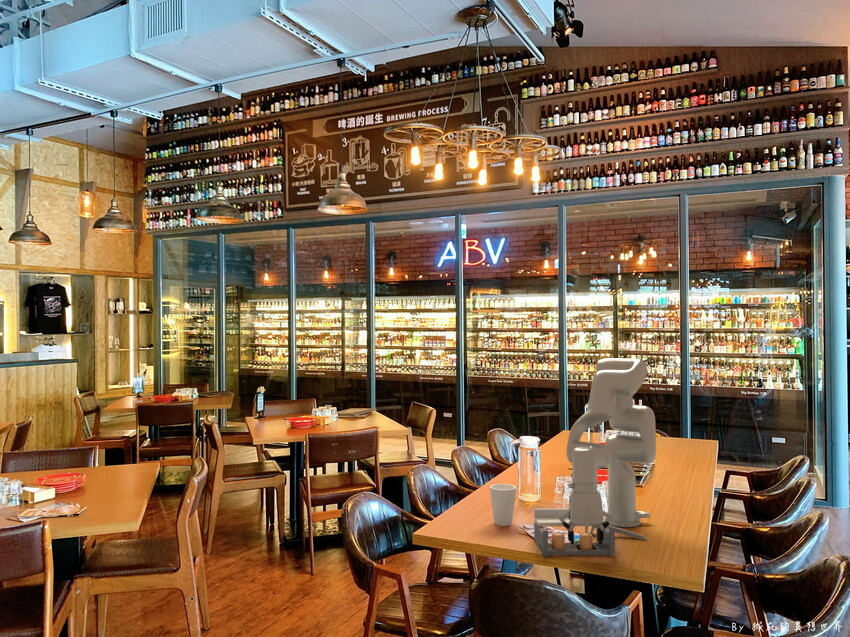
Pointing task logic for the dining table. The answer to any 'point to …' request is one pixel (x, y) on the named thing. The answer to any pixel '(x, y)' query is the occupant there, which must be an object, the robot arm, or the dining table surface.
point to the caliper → (621, 532)
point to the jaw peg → (585, 541)
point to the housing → (564, 548)
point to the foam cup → (503, 503)
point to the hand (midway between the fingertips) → (585, 542)
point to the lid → (551, 517)
